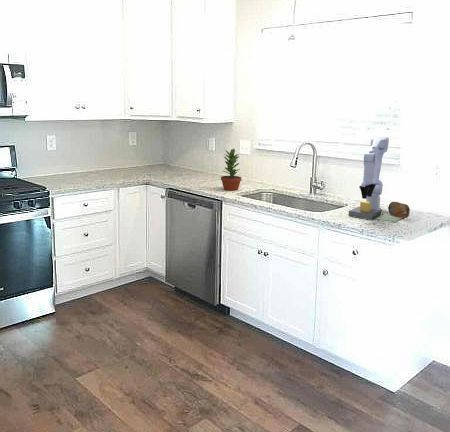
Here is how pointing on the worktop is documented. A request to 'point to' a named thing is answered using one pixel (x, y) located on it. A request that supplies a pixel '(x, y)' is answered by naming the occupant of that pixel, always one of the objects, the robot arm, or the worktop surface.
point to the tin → (399, 210)
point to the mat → (388, 218)
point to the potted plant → (231, 173)
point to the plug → (365, 206)
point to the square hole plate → (365, 213)
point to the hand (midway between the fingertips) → (366, 197)
